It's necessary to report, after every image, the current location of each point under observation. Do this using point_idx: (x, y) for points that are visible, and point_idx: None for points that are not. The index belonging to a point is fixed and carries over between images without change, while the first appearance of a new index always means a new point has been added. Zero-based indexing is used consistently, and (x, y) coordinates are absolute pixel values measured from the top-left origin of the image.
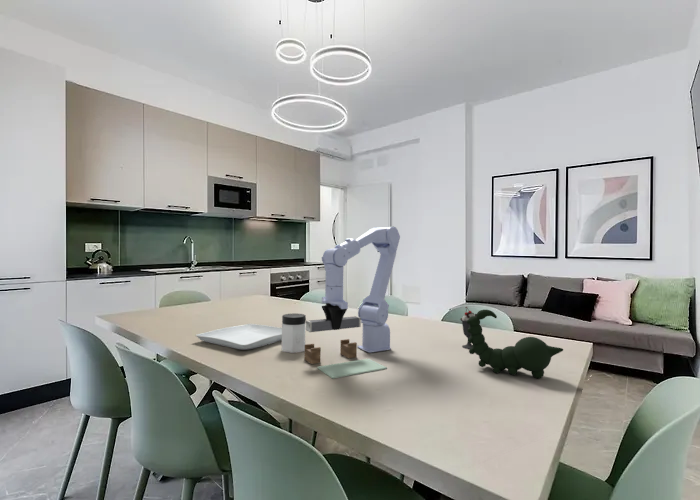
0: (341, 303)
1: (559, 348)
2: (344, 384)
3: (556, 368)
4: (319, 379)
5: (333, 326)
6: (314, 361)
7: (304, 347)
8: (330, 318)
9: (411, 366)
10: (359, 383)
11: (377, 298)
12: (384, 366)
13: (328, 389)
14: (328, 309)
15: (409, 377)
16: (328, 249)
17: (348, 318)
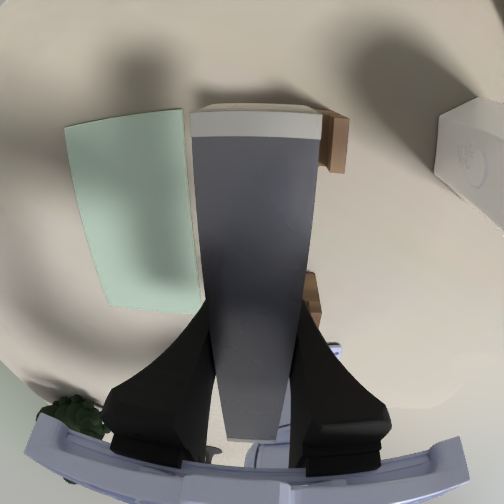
0: (31, 450)
1: None
2: (27, 146)
3: None
4: (73, 84)
5: (201, 308)
6: None
7: (441, 178)
8: (294, 359)
9: (120, 349)
10: (28, 186)
11: None
12: (117, 306)
13: (13, 95)
14: (302, 419)
15: (55, 303)
16: None
17: (234, 415)
